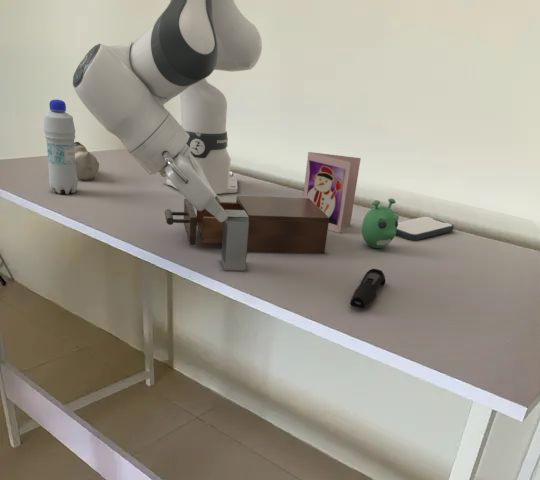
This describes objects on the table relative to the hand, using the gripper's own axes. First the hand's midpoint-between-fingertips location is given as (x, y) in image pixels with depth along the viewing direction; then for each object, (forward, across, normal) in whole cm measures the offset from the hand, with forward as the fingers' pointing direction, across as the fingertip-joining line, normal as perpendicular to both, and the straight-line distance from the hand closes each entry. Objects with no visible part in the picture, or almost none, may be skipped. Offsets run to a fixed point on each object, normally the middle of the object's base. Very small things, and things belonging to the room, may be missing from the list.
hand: (220, 210), depth 102 cm
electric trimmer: (+24, -14, -9) cm, 29 cm away
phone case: (+42, +24, -28) cm, 56 cm away
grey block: (+9, 0, +5) cm, 10 cm away
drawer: (+7, +15, +6) cm, 18 cm away
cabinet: (+17, +15, -3) cm, 23 cm away
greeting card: (+28, +28, -13) cm, 41 cm away
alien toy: (+32, +12, -17) cm, 38 cm away
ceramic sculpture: (-12, +66, +27) cm, 72 cm away
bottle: (-14, +48, +28) cm, 57 cm away
